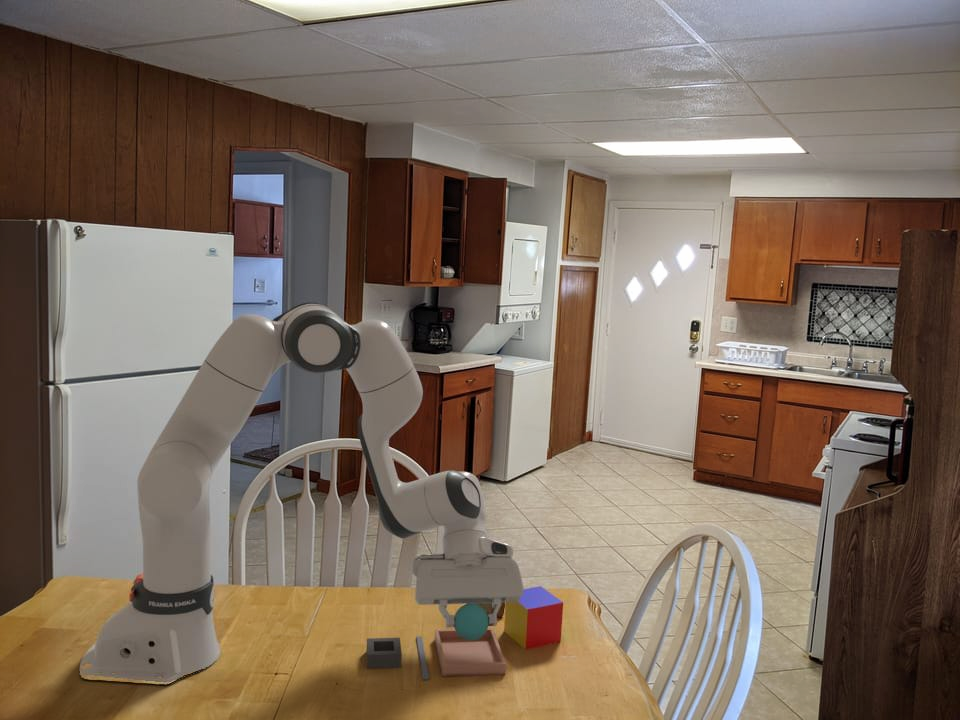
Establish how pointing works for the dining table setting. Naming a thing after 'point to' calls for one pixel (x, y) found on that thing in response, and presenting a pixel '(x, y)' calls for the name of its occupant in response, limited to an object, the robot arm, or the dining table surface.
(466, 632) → the ball
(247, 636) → the dining table surface
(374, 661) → the grey square frame
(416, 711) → the dining table surface
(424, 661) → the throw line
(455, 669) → the tray
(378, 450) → the robot arm
